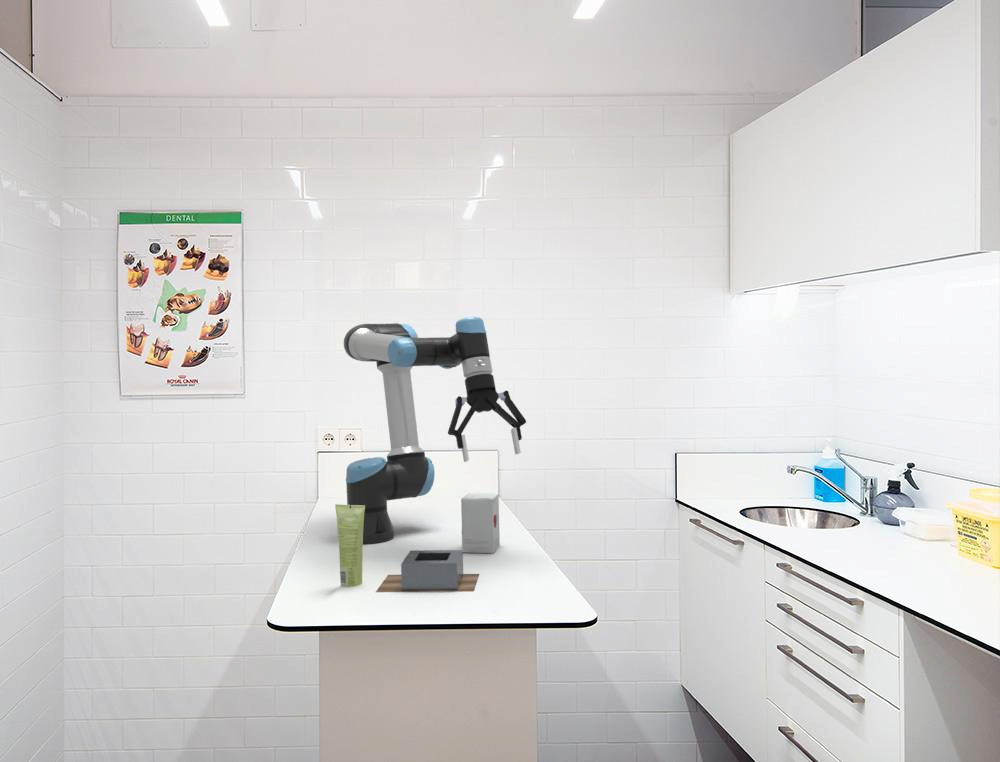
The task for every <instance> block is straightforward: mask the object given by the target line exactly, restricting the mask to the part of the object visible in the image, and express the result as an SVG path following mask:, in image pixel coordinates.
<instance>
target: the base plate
mask: <svg viewBox="0 0 1000 762" xmlns="http://www.w3.org/2000/svg"><path fill="white" fill-rule="evenodd" d="M479 577H480V573H463V577H462V580H461V583H460V585H459V588H458V590H402V577H401V574H388V575H387V576H386V577H385V579H384V580H383V581H382V583H381V584H380V585H379V586H378V587H377V589H376V591H375V593H423V592H424V593H428V592H429V593H434V592H439V593H441V592H443V593H446V592H448V593H449V592H450V593H451V592H453V593H455V592H474V591H475V589H476V586H477V583H478V580H479Z"/></svg>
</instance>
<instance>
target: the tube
mask: <svg viewBox="0 0 1000 762" xmlns="http://www.w3.org/2000/svg"><path fill="white" fill-rule="evenodd" d="M334 506H335V513H336V523H337V534H338V535H337V537H338V538H337V539H338V550H339V551H338V553H339V555H338V556H339V575H340V578H339V579H340V586H342V587H348V588H349V587H350V588H351V587H356V586H360V585H362V584H363V555H364V554H363V551H364V550H363V549H364V547H363V546H364V544H363V526H364V512H365V505H347V504H342V503H341V504H338V503H335V505H334Z"/></svg>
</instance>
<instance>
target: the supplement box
mask: <svg viewBox="0 0 1000 762" xmlns="http://www.w3.org/2000/svg"><path fill="white" fill-rule="evenodd" d="M499 499H500V498H499V492H498V493H497V492H490V493H489V492H468V493H466V495H464V496H463V497H461V498H460V503H461V506H460V508H461V511H460V512H461V550H463V553H471V554H473V553H474V554H477V553H478V554H494V553H495V552H496V551H497V550H498V549H499V547H501V545H500V543H501V542H500V509H499V508H500V500H499Z"/></svg>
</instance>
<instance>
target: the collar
mask: <svg viewBox="0 0 1000 762" xmlns="http://www.w3.org/2000/svg"><path fill="white" fill-rule="evenodd" d="M400 571H401V574H400V575H401V577H402V590H458V588H459V585H460V583H461V580H462V577H463V574H464V552H463V550H462V549H444V550H443V549H441V550H440V549H437V550H435V549H433V550H429V549H428V550H409V552H408V553H407V555H406V556H405V558H404V559H403V561H402V562H401V564H400Z"/></svg>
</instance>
